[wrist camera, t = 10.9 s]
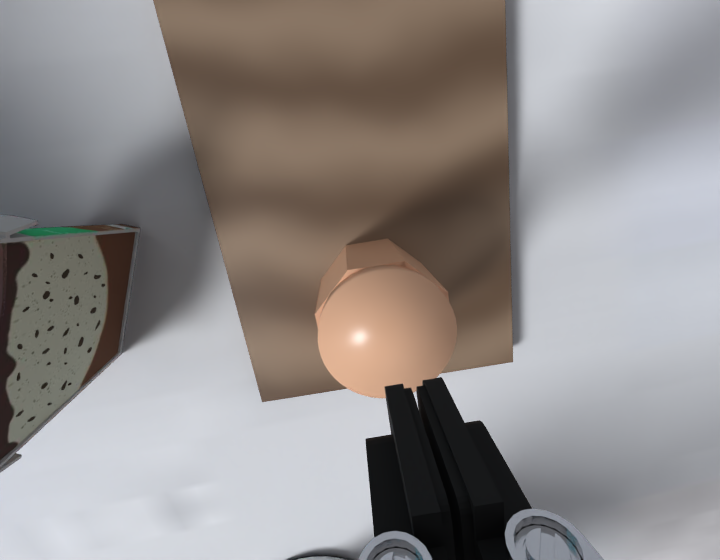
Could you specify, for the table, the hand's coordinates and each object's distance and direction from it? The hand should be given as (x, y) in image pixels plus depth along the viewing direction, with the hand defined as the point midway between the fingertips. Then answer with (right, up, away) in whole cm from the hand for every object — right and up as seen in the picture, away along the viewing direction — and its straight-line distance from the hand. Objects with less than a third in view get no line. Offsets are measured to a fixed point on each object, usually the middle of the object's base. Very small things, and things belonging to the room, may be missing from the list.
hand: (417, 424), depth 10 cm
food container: (-20, +4, +13) cm, 24 cm away
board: (-2, +10, +12) cm, 16 cm away
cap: (-1, +4, +13) cm, 13 cm away
